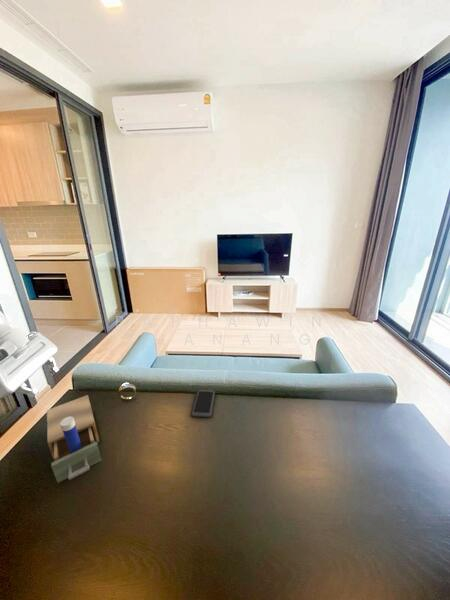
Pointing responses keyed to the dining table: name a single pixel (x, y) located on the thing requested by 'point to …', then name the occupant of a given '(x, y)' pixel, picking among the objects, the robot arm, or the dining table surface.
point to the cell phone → (203, 403)
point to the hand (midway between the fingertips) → (46, 383)
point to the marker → (71, 434)
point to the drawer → (75, 456)
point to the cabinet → (75, 409)
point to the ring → (124, 388)
